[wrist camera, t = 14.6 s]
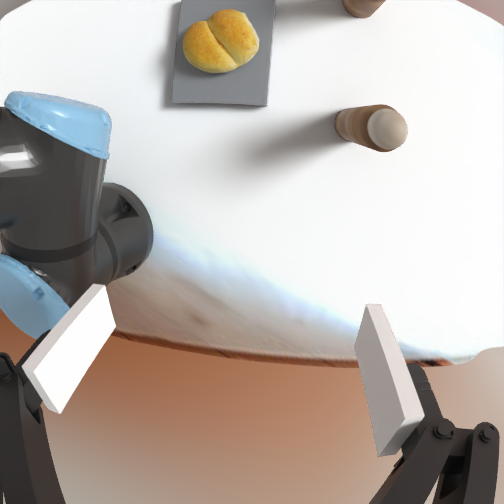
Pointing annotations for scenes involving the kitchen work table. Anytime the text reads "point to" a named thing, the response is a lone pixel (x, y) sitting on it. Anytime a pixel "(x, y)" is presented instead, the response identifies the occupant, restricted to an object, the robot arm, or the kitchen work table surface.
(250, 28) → the bread roll
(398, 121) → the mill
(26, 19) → the kitchen work table surface
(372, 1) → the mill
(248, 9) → the slate board
